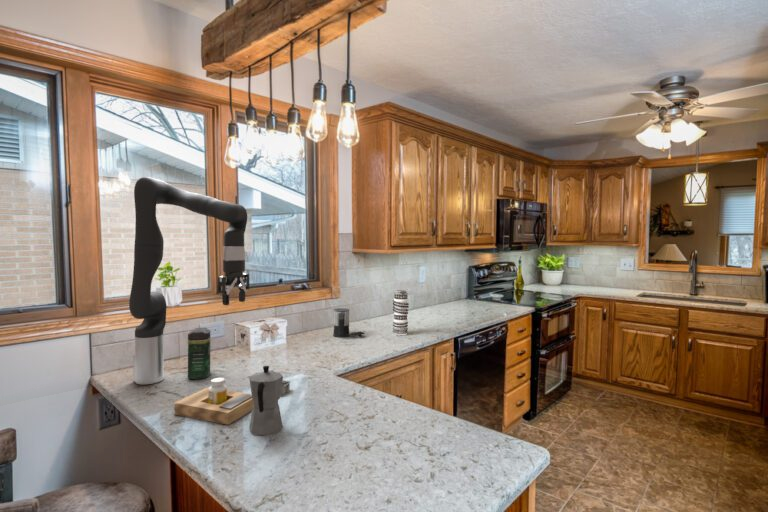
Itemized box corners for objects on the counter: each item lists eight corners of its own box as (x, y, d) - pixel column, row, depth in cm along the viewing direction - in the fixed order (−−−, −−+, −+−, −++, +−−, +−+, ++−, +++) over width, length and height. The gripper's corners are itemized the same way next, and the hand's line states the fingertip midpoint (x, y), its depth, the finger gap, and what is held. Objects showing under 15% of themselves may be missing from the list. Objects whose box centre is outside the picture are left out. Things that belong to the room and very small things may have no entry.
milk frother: (331, 334, 231) (331, 308, 230) (357, 332, 237) (357, 306, 236) (338, 340, 218) (338, 312, 217) (366, 337, 224) (366, 311, 223)
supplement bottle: (205, 413, 125) (205, 382, 125) (211, 406, 130) (211, 376, 130) (223, 413, 126) (223, 382, 125) (228, 406, 131) (228, 376, 131)
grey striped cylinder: (390, 332, 236) (390, 289, 235) (405, 331, 239) (405, 289, 238) (395, 336, 228) (395, 291, 227) (410, 335, 230) (411, 291, 229)
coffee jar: (208, 379, 156) (208, 330, 155) (185, 380, 153) (185, 331, 153) (212, 371, 165) (212, 325, 164) (190, 372, 163) (190, 326, 162)
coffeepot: (254, 418, 122) (254, 359, 121) (286, 417, 123) (286, 358, 122) (241, 444, 107) (241, 376, 106) (277, 443, 108) (278, 376, 107)
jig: (174, 414, 125) (174, 401, 124) (208, 397, 138) (208, 386, 138) (227, 424, 118) (227, 411, 118) (258, 406, 131) (258, 394, 131)
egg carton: (254, 393, 143) (254, 381, 143) (268, 386, 150) (268, 375, 150) (280, 397, 139) (280, 385, 139) (293, 390, 146) (293, 378, 146)
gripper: (238, 257, 156) (238, 300, 157) (211, 259, 143) (211, 305, 143) (255, 258, 154) (255, 301, 154) (229, 260, 140) (229, 307, 141)
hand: (234, 303), depth 149 cm, fingers open, 8 cm apart
